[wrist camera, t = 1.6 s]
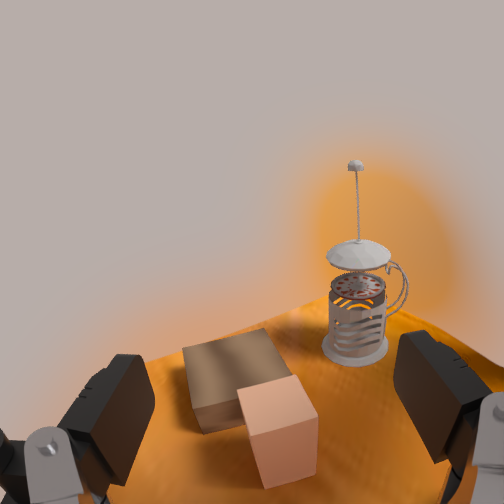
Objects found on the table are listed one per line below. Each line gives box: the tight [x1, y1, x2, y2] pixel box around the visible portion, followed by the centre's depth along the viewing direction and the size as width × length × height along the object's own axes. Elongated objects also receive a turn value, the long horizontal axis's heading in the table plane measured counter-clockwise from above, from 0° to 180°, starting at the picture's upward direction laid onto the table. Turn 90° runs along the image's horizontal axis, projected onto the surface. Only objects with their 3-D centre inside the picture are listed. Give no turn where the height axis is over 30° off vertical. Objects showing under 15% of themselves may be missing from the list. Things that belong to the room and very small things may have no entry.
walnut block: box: [182, 328, 292, 435], centre depth 35 cm, size 11×11×5 cm
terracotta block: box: [237, 374, 319, 489], centre depth 23 cm, size 5×5×10 cm
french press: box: [321, 160, 409, 367], centre depth 36 cm, size 10×12×25 cm
